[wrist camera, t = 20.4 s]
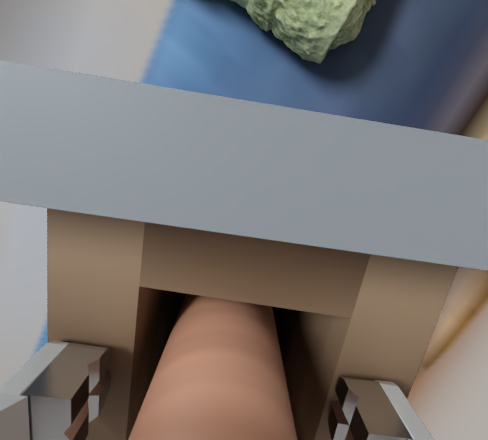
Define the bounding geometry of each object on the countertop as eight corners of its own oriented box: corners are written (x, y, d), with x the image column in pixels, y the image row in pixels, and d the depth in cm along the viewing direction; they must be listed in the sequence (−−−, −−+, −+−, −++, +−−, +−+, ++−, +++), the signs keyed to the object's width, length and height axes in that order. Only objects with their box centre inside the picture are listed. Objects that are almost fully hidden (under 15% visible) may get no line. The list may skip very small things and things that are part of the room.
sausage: (257, 294, 16) (300, 699, 4) (198, 286, 16) (66, 682, 4) (267, 238, 15) (358, 545, 3) (204, 228, 15) (63, 515, 3)
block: (302, 355, 17) (355, 531, 9) (140, 332, 16) (47, 497, 8) (343, 198, 14) (464, 251, 7) (156, 166, 14) (47, 182, 6)
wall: (462, 212, 15) (907, 330, 5) (7, 143, 14) (-594, 117, 4) (475, 175, 14) (997, 223, 4) (4, 100, 13) (-689, -53, 3)
